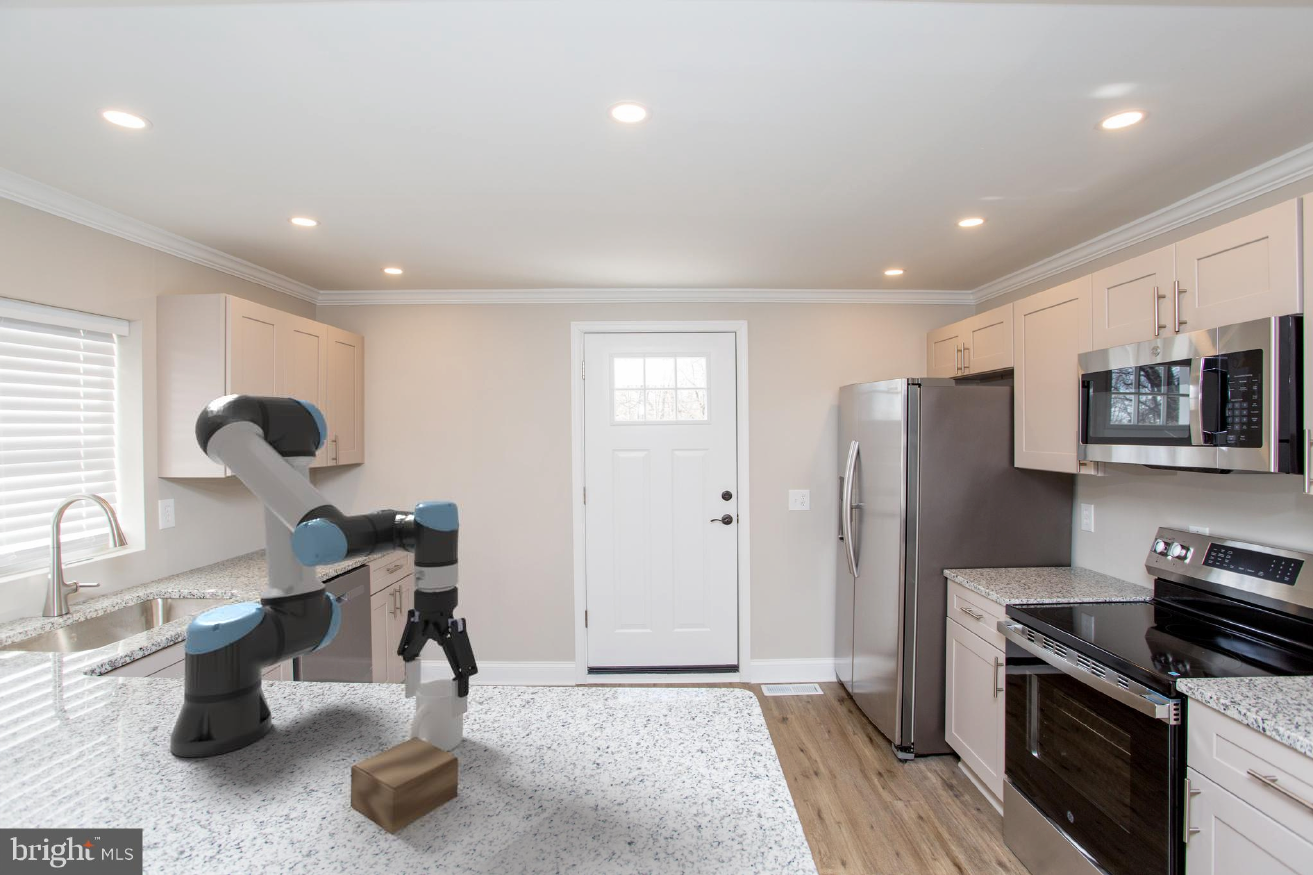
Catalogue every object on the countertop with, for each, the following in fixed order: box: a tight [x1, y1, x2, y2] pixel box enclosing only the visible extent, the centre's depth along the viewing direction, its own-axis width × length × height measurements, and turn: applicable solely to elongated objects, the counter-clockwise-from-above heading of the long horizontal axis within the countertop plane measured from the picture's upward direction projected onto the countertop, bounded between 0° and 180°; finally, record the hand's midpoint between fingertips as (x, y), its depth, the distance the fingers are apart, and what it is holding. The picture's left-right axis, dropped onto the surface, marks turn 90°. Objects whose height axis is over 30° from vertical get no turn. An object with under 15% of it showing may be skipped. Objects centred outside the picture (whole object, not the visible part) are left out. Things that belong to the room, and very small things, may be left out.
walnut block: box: [350, 737, 459, 835], centre depth 91 cm, size 11×11×6 cm
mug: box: [410, 678, 464, 752], centre depth 106 cm, size 12×8×10 cm
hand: (435, 704), depth 106 cm, fingers open, 13 cm apart
